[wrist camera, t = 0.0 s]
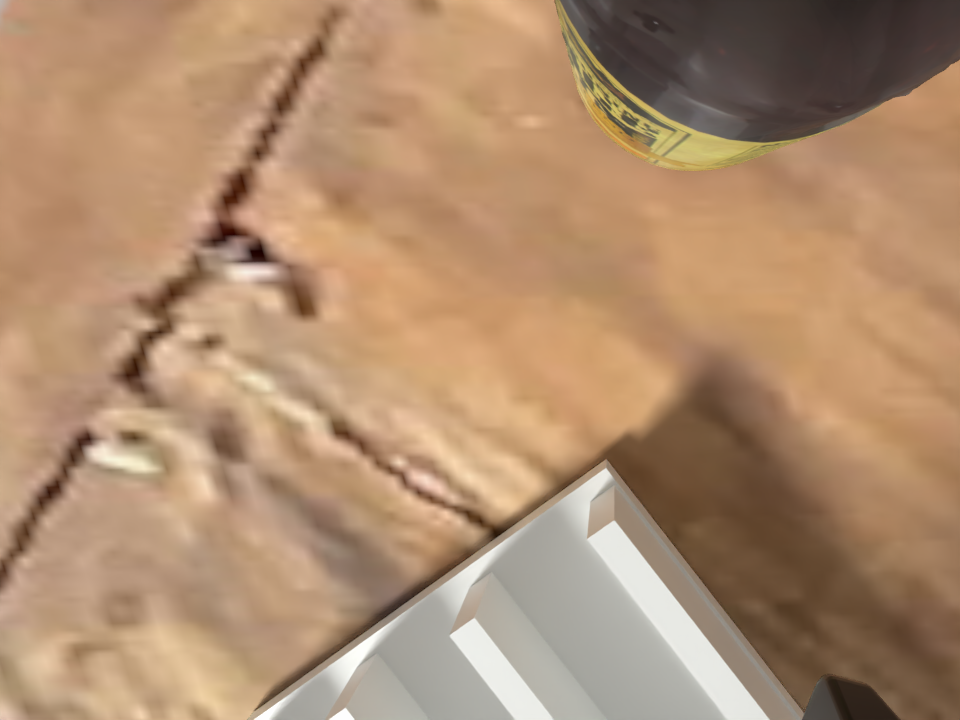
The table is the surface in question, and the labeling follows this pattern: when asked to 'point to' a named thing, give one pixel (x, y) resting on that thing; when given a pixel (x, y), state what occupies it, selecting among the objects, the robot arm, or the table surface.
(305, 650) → the table surface
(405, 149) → the table surface
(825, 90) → the sauce bottle
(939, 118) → the table surface
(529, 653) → the dish rack
